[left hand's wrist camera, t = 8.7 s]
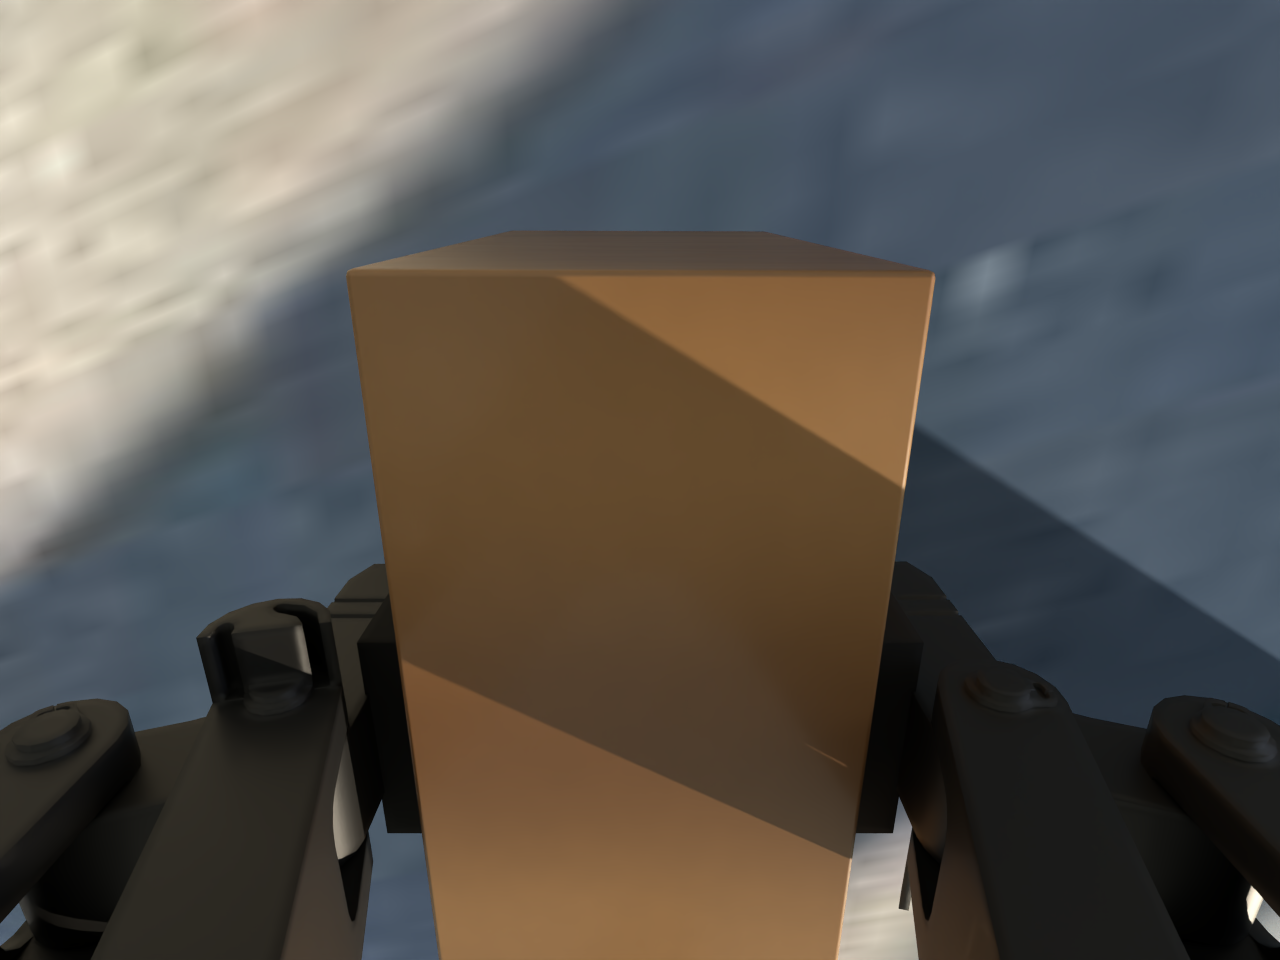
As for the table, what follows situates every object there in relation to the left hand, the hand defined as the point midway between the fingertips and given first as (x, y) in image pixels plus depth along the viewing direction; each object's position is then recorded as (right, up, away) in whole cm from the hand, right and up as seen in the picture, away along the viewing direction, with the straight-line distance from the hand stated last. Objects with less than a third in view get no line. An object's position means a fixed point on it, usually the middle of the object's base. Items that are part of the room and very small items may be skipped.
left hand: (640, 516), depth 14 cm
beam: (0, -23, +9) cm, 25 cm away
